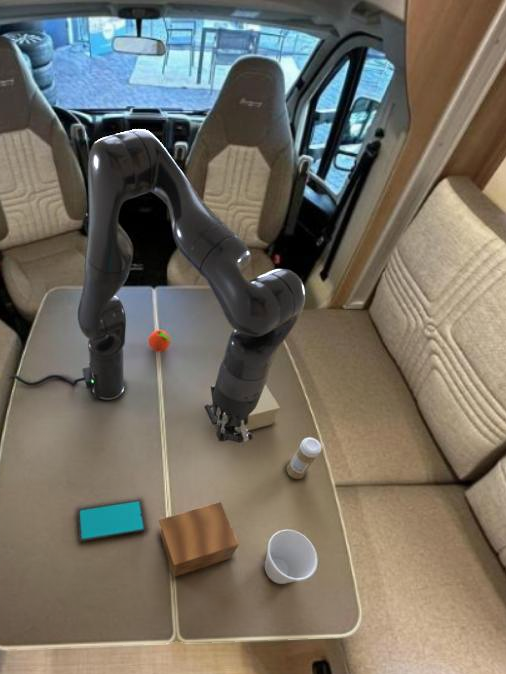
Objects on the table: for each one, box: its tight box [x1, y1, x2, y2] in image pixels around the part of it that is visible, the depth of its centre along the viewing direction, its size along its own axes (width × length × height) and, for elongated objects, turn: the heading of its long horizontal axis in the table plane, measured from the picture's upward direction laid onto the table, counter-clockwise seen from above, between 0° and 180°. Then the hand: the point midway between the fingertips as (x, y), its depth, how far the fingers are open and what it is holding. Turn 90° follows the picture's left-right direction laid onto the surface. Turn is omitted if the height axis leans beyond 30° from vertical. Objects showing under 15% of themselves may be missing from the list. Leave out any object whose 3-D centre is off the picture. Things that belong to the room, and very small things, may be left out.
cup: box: [264, 529, 319, 585], centre depth 88 cm, size 10×10×11 cm
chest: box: [159, 527, 239, 578], centre depth 91 cm, size 14×10×9 cm
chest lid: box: [158, 501, 240, 566], centre depth 87 cm, size 14×10×1 cm, turn 107°
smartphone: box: [77, 499, 146, 543], centre depth 97 cm, size 7×1×15 cm
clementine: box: [148, 329, 172, 353], centre depth 132 cm, size 8×7×7 cm
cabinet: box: [236, 384, 281, 431], centre depth 116 cm, size 13×11×8 cm
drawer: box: [203, 404, 218, 426], centre depth 115 cm, size 16×9×6 cm, turn 107°
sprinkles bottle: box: [286, 437, 323, 480], centre depth 102 cm, size 5×5×14 cm
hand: (222, 437), depth 80 cm, fingers closed
